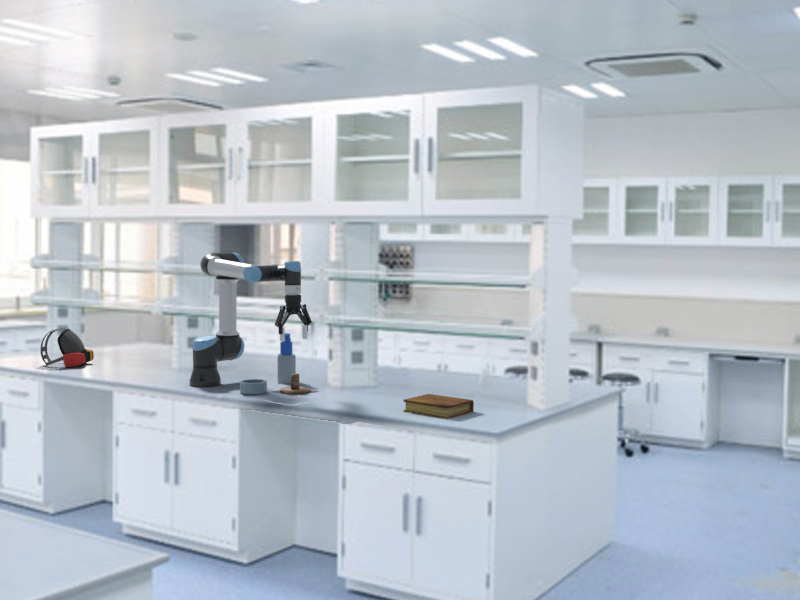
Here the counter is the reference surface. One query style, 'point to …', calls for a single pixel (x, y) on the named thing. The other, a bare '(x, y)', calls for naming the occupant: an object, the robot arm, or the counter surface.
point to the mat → (295, 394)
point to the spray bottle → (286, 361)
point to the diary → (439, 406)
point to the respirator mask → (68, 349)
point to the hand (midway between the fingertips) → (293, 340)
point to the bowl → (253, 386)
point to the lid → (295, 386)
